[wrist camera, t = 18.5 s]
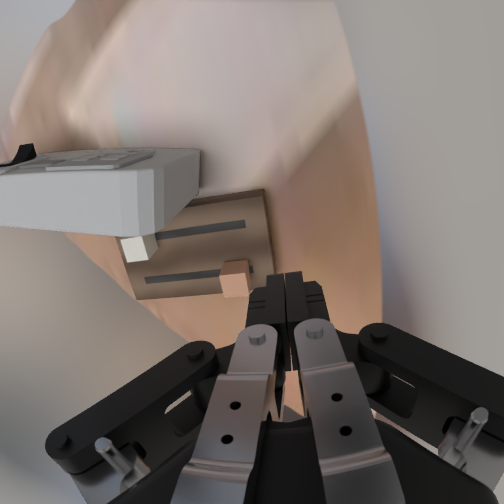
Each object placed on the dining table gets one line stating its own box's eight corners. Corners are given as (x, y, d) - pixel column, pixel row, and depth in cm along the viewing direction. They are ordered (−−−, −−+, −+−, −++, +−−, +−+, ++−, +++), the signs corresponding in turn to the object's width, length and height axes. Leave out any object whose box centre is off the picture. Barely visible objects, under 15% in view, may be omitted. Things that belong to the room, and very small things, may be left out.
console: (123, 212, 41) (110, 221, 37) (263, 188, 38) (262, 195, 35) (146, 287, 46) (136, 300, 42) (276, 273, 43) (276, 288, 39)
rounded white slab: (205, 131, 36) (151, 139, 20) (203, 189, 39) (153, 240, 23) (36, 139, 37) (-50, 162, 20) (38, 185, 40) (-42, 222, 24)
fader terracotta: (223, 262, 38) (219, 275, 35) (247, 259, 38) (244, 272, 35) (228, 283, 39) (224, 297, 36) (251, 280, 39) (249, 295, 36)
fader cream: (131, 229, 37) (120, 239, 34) (152, 226, 37) (141, 236, 34) (138, 251, 38) (127, 262, 35) (158, 248, 38) (148, 259, 35)
